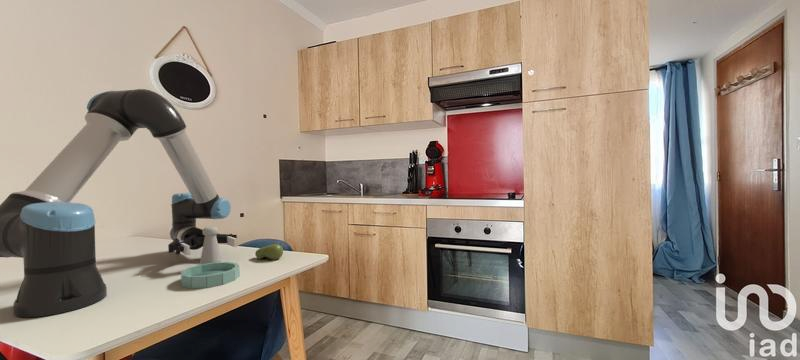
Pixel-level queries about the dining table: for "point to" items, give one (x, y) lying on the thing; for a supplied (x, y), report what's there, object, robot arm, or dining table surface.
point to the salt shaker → (210, 246)
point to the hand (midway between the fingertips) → (213, 246)
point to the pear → (270, 252)
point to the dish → (209, 275)
